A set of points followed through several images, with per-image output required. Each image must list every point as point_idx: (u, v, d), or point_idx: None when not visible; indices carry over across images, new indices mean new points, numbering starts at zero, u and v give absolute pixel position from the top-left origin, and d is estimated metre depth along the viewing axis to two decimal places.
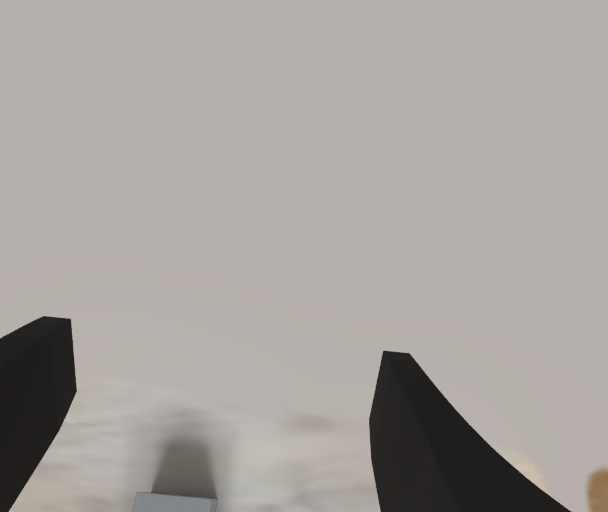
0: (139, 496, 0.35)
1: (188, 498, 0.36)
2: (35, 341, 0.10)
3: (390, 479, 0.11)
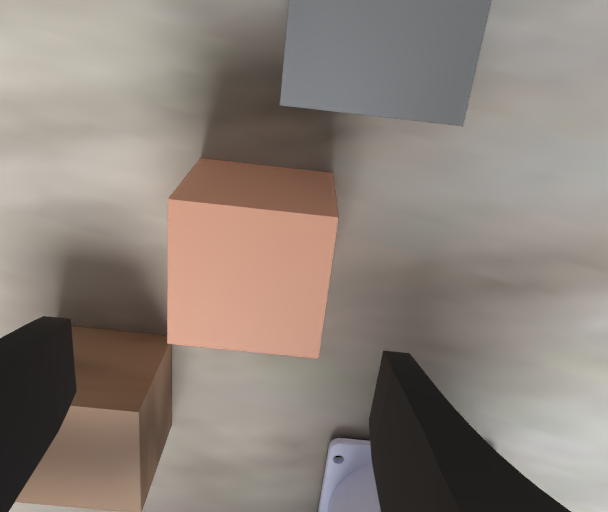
0: None
1: None
2: (35, 341, 0.10)
3: (391, 479, 0.11)
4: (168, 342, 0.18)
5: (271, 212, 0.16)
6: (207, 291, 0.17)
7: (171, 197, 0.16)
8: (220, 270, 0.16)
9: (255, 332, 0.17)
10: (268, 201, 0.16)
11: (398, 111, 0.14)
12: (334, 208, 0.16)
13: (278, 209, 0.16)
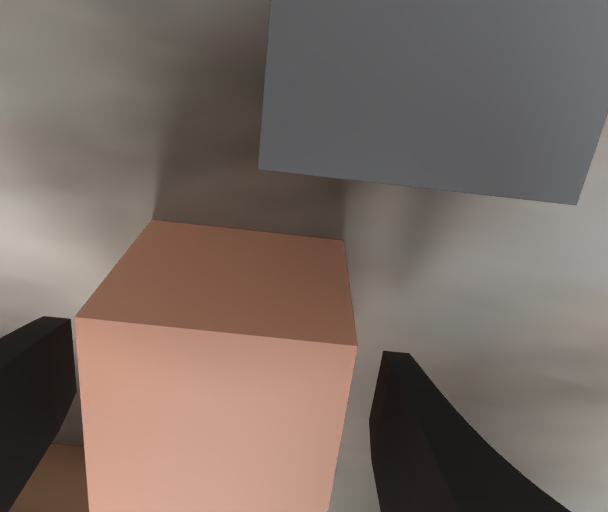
0: None
1: None
2: (35, 342, 0.10)
3: (391, 479, 0.11)
4: None
5: (247, 338, 0.09)
6: (148, 450, 0.11)
7: (80, 313, 0.09)
8: (167, 421, 0.10)
9: (225, 505, 0.11)
10: (243, 311, 0.10)
11: (465, 180, 0.08)
12: (349, 322, 0.10)
13: (258, 332, 0.10)
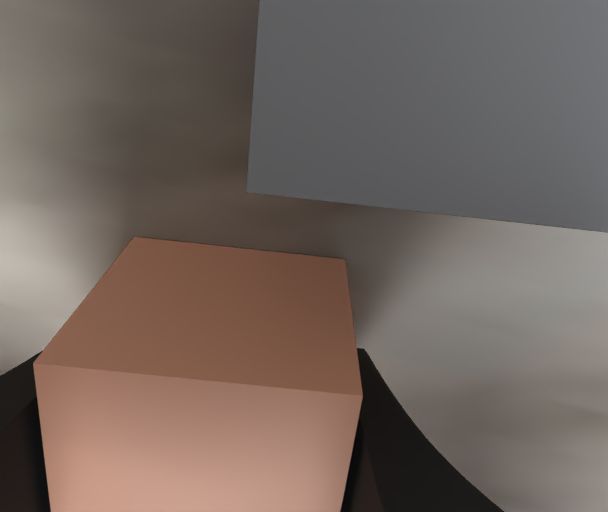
0: None
1: None
2: None
3: None
4: None
5: (234, 387, 0.08)
6: (123, 508, 0.09)
7: (41, 358, 0.08)
8: (143, 477, 0.09)
9: None
10: (231, 352, 0.09)
11: (490, 205, 0.07)
12: (353, 364, 0.09)
13: (246, 380, 0.08)
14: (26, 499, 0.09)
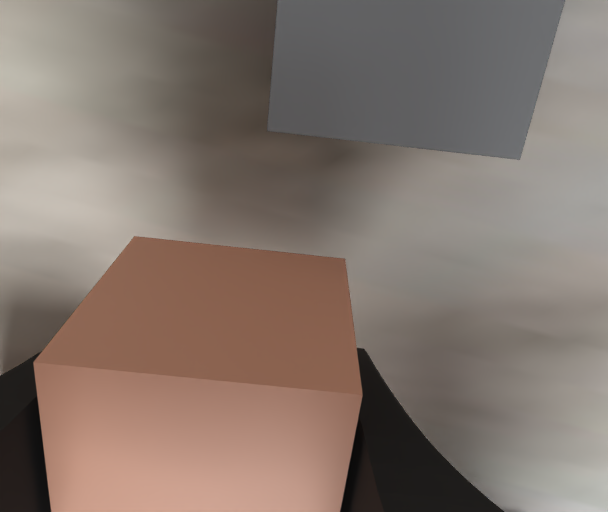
0: None
1: None
2: None
3: None
4: None
5: (234, 386, 0.08)
6: (123, 507, 0.09)
7: (41, 357, 0.08)
8: (143, 477, 0.09)
9: None
10: (230, 351, 0.09)
11: (431, 139, 0.10)
12: (353, 363, 0.09)
13: (246, 378, 0.08)
14: (26, 499, 0.09)
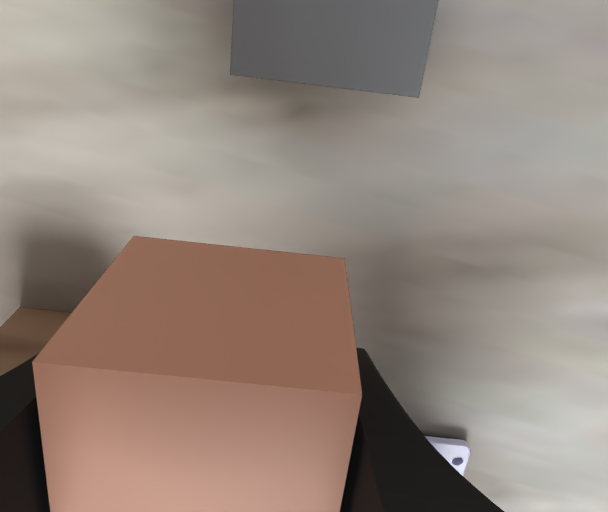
0: None
1: None
2: None
3: None
4: None
5: (233, 386, 0.08)
6: (122, 507, 0.09)
7: (40, 357, 0.08)
8: (142, 476, 0.09)
9: None
10: (230, 351, 0.09)
11: (352, 81, 0.14)
12: (352, 363, 0.09)
13: (246, 378, 0.08)
14: (26, 499, 0.09)
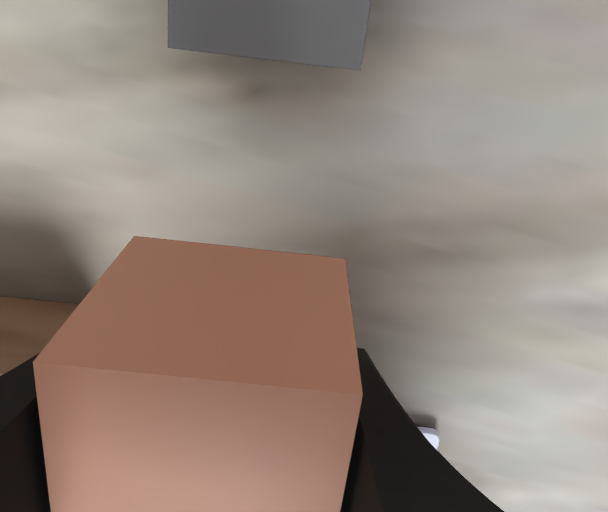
0: None
1: None
2: None
3: None
4: None
5: (233, 386, 0.08)
6: (123, 507, 0.09)
7: (40, 357, 0.08)
8: (143, 476, 0.09)
9: None
10: (231, 351, 0.09)
11: (292, 54, 0.14)
12: (353, 363, 0.09)
13: (246, 378, 0.08)
14: (26, 499, 0.09)
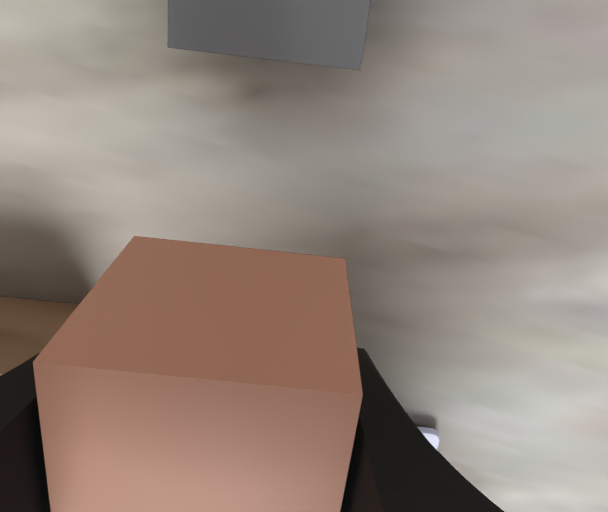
0: None
1: None
2: None
3: None
4: None
5: (233, 386, 0.08)
6: (123, 507, 0.09)
7: (40, 357, 0.08)
8: (143, 476, 0.09)
9: None
10: (231, 351, 0.09)
11: (292, 54, 0.14)
12: (353, 363, 0.09)
13: (246, 378, 0.08)
14: (26, 499, 0.09)
